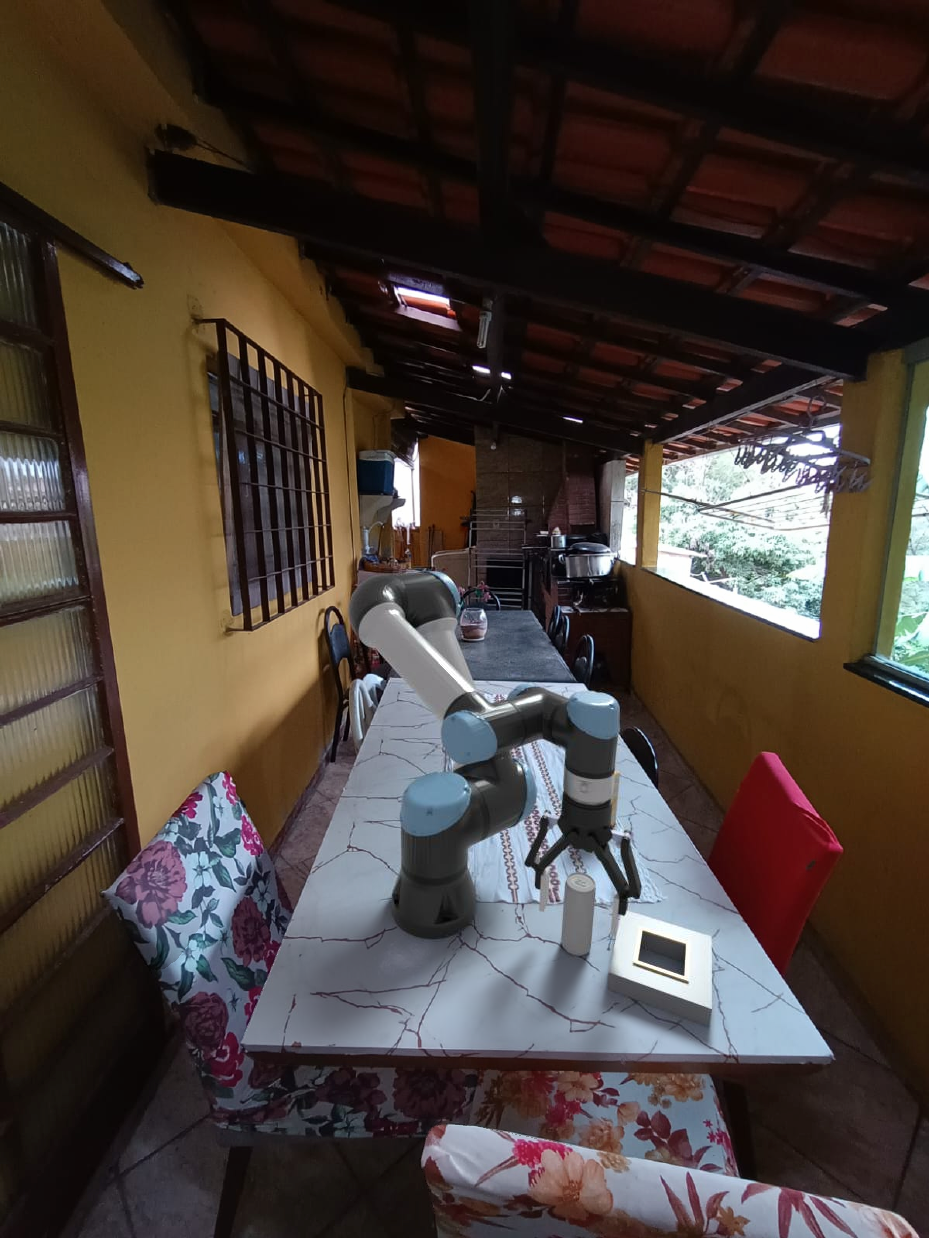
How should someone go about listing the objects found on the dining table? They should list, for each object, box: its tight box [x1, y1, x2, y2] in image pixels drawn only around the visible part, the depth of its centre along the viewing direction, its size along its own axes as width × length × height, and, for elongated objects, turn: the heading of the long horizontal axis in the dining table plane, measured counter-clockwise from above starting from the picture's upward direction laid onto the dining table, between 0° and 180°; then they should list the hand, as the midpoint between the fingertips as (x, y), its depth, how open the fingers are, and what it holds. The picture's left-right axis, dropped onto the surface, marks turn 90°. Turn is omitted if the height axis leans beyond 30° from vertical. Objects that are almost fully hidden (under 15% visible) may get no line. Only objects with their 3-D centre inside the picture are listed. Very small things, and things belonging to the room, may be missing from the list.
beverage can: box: [560, 871, 597, 957], centre depth 87 cm, size 5×5×12 cm
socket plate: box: [606, 910, 713, 1028], centre depth 83 cm, size 14×14×3 cm
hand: (578, 917), depth 87 cm, fingers open, 11 cm apart
